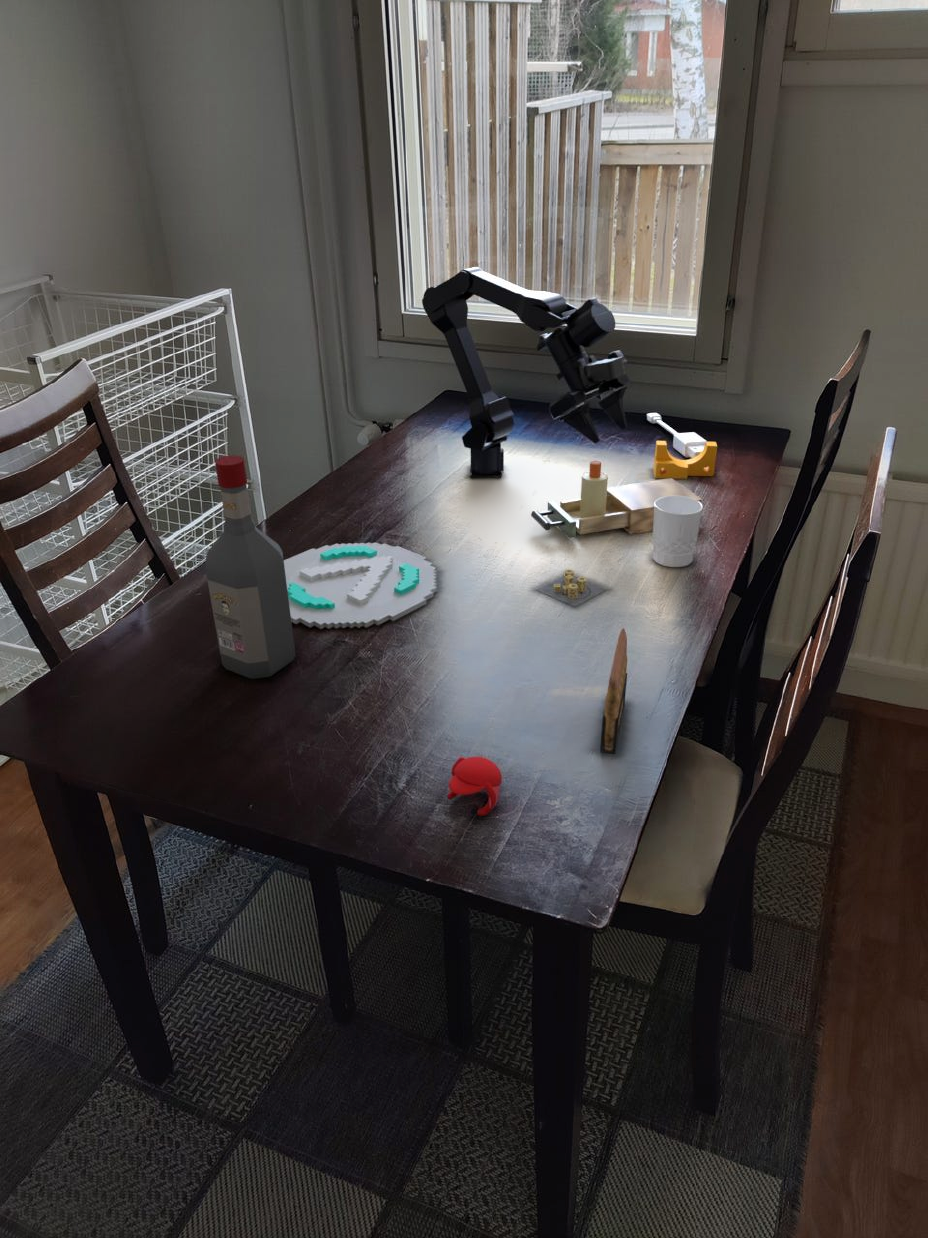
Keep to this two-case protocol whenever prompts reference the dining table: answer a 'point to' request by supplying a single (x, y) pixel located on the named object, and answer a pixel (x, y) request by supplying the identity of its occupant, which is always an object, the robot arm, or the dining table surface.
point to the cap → (476, 780)
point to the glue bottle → (593, 491)
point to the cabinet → (646, 500)
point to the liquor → (247, 585)
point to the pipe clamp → (684, 462)
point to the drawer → (571, 522)
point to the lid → (357, 584)
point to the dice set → (571, 589)
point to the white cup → (675, 530)
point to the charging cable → (681, 438)
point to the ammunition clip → (615, 697)
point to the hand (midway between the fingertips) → (611, 435)
